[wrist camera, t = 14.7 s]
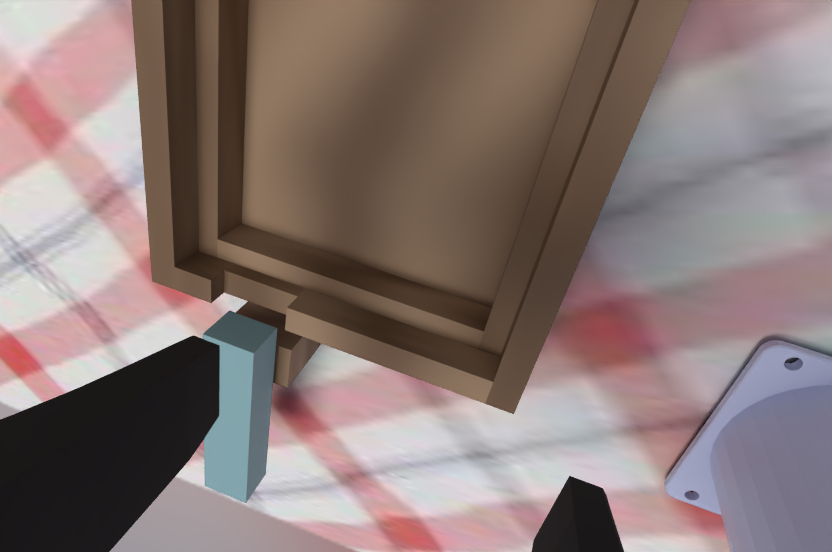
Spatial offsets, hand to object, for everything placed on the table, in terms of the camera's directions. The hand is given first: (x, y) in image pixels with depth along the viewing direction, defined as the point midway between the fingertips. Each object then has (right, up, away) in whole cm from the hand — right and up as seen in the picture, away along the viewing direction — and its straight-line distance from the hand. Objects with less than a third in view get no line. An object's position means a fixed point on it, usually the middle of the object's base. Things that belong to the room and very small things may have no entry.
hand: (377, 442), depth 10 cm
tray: (0, +7, +9) cm, 11 cm away
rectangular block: (-6, -2, +11) cm, 13 cm away
